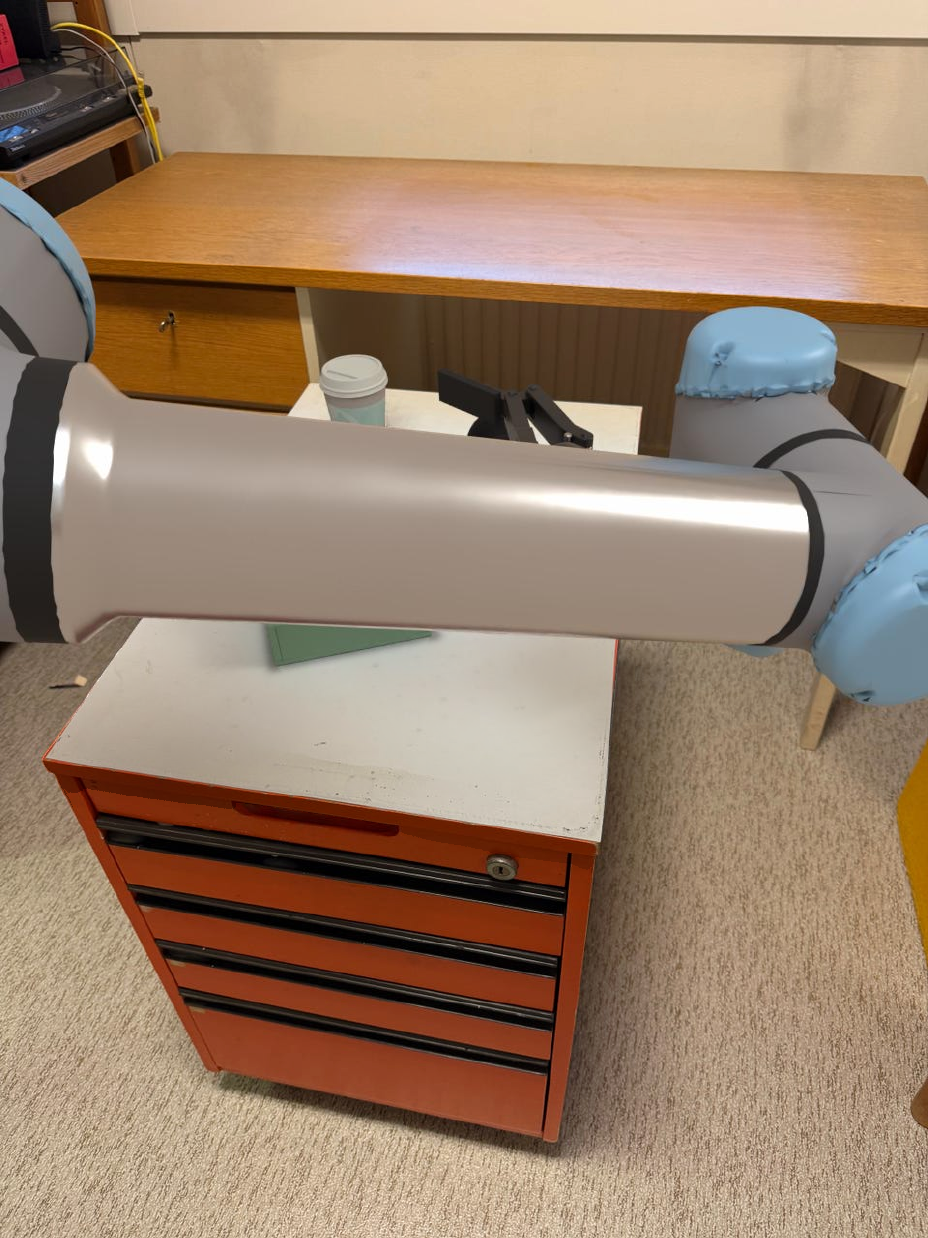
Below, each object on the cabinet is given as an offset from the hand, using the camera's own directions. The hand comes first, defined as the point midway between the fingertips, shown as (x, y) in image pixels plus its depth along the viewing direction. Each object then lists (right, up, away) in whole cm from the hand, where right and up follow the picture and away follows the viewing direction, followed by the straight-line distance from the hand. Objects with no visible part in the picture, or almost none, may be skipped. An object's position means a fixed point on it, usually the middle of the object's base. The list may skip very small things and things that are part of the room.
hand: (381, 413), depth 71 cm
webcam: (+11, 0, +38) cm, 40 cm away
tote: (-6, -15, +22) cm, 27 cm away
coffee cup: (-7, +5, +45) cm, 46 cm away
